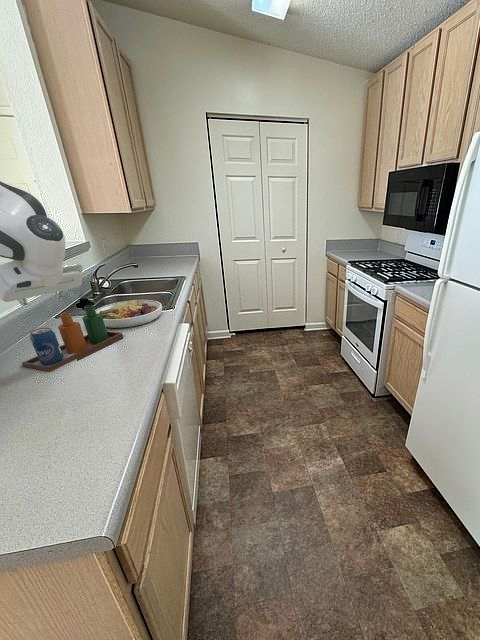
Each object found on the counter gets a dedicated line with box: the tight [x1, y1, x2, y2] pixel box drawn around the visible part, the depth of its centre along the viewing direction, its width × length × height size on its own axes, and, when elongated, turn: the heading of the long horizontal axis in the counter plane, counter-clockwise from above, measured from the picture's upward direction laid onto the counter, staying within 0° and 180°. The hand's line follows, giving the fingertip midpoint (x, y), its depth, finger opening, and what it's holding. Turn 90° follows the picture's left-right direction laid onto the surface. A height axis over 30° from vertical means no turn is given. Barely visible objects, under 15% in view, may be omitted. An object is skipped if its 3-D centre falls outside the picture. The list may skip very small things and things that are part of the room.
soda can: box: [29, 327, 64, 366], centre depth 114 cm, size 7×7×12 cm
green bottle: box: [81, 304, 109, 344], centre depth 131 cm, size 7×7×15 cm
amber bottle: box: [57, 312, 88, 355], centre depth 122 cm, size 7×7×15 cm
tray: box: [21, 330, 124, 372], centre depth 125 cm, size 32×13×2 cm, turn 162°
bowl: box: [95, 299, 163, 329], centre depth 157 cm, size 30×30×8 cm
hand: (41, 299), depth 99 cm, fingers open, 8 cm apart
